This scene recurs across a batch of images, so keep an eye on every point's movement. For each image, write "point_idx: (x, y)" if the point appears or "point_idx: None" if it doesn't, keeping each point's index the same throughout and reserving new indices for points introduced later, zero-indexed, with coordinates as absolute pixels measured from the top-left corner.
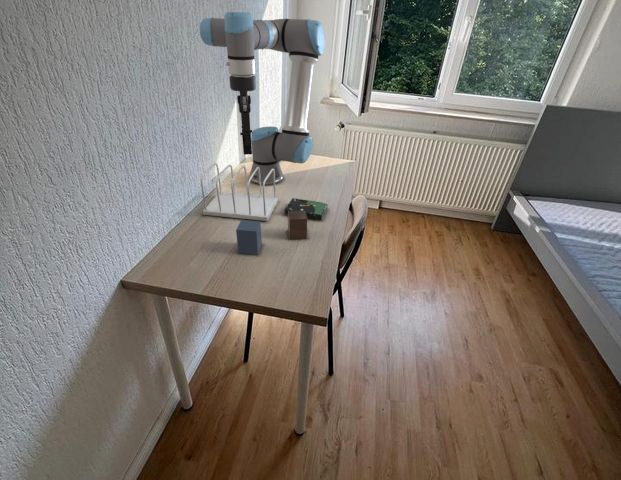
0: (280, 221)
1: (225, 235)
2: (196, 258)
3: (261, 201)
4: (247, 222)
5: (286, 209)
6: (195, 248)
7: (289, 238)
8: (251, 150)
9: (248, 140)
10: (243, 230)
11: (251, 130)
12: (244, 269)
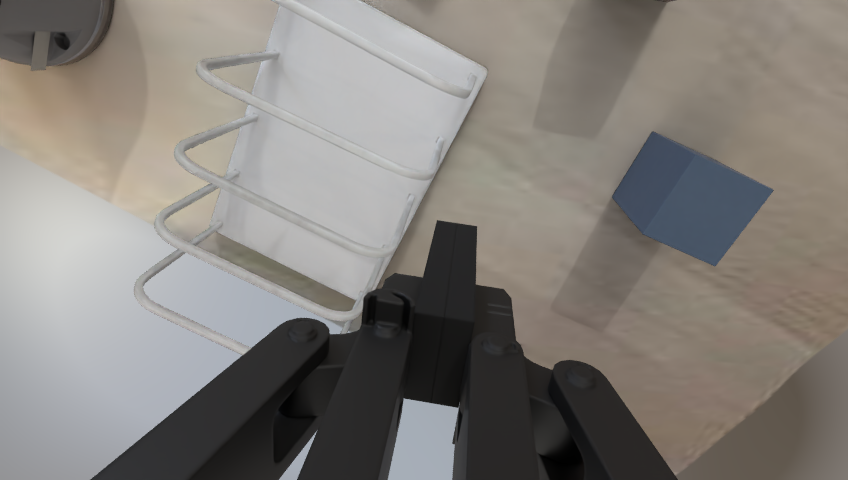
0: (497, 5)
1: (534, 246)
2: (637, 343)
3: (326, 64)
4: (676, 212)
5: None
6: (579, 340)
7: (666, 1)
8: (475, 242)
9: (510, 324)
10: (735, 239)
11: (391, 311)
12: (775, 220)
